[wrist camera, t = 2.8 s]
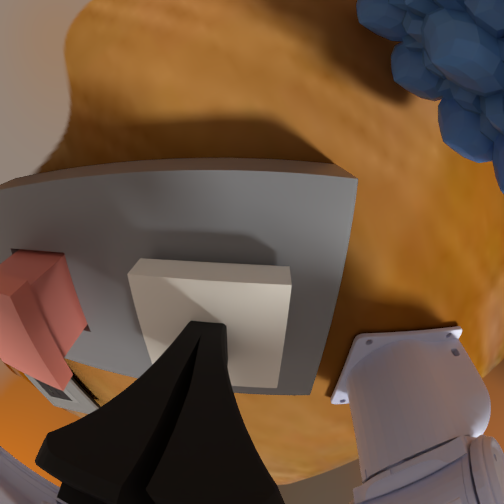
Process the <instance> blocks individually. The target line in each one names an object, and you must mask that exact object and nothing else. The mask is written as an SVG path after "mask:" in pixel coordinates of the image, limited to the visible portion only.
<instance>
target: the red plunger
mask: <svg viewBox="0 0 504 504" xmlns="http://www.w3.org/2000/svg"><path fill="white" fill-rule="evenodd" d="M87 324H88V323H87V321H86V318H85V316H84V313H83V311H82V308H81V305H80V302H79V300H78V297H77V294H76V291H75V288H74V285H73V282H72V278H71V275H70V272H69V269H68V265H67V262H66V258H65V254H64V253H63V252H50V251H38V250H25V249H19V250H18V251H17V252H15V253H14V254H13V255H11V256H10V257H9V258H7V259H6V260H5V261H3V262H2V263H1V264H0V358H1V360H2V361H3V362H5V363H7V364H9V365H10V366H12V367H14V368H16V369H18V370H19V371H21V372H23V373H25V374H27V375H29V376H31V377H33V378H35V379H37V380H39V381H41V382H43V383H46V384H48V385H50V386H52V387H55V388H57V389H59V390H62V391H64V389H65V387H66V386H67V384H68V382H69V380H70V379H71V377H72V375H73V373H72V372H71V370H70V368H69V367H68V365H67V363H66V361H65V360H64V357H65V356H66V354H67V353H68V351H69V350H70V348H71V347H72V345H73V344H74V343H75V341H76V340H77V338H78V337H79V335H80V334H81V333H82V331H83V330H84V328H85V327H86V326H87Z"/></svg>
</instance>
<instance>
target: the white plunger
mask: <svg viewBox="0 0 504 504" xmlns="http://www.w3.org/2000/svg"><path fill="white" fill-rule="evenodd" d="M127 275H128V280H129V284H130V288H131V293H132V297H133V301H134V305H135V308H136V312H137V316H138V320H139V323H140V327H141V330H142V333H143V337H144V340H145V343H146V346H147V350H148V353H149V356H150V359H151V362H152V364H153V363H154V362H155V361H156V360H157V359H158V358H159V357H160V356H161V355H162V354H163V353H164V352H165V350H166V349H167V348H168V347H169V346H170V345H171V344H172V342H173V341H174V340H175V339H176V338H177V336H178V335H179V334H180V333H181V332H182V330H183V329H184V328H185V326H186V325H187V324H188V323H189V322H190V321H201V322H212V323H224V324H225V325H226V326H227V347H228V366H227V367H228V373H229V377H230V381H231V385H232V386H242V387H259V388H277V385H278V379H279V373H280V367H281V360H282V354H283V347H284V340H285V333H286V326H287V318H288V311H289V303H290V295H291V287H292V283H291V275H290V266H271V265H256V264H237V263H218V262H200V261H183V260H161V259H145V258H140V259H139V260H138V262H137V263H136V264H135V265H134V266H133V268H132V269H131V270H130V271H129V273H128V274H127Z"/></svg>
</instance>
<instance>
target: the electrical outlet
mask: <svg viewBox="0 0 504 504" xmlns="http://www.w3.org/2000/svg"><path fill="white" fill-rule="evenodd" d="M24 374H25V373H24ZM25 375H26V376H27V377H28V379H29V380H30V381H31V382H32V383H33V384H34V385H35V386H36V387H37V389H38V390H39V391H40V392H41V393H42V394H43V395H44V396H45V397H46V398H47V399H48V400H49V401H50V402H51V403H52V404H53V405H54V406H57V407H61V408H65V409H69V410H73V411H77V412H82V413H87V414H90V413H92V412H93V411H95V410H97V409H98V408H100V405H99V404H98V403H97V402H96V401H95V400H94V399H93V398H92V397H91V396H90V395H89V394H88V393H87V392H86V391H85V390H84V389H83V388H82V387H81V386H80V385H79V384H78V382H77V381H76V380H75V379H74V378H73V377H71V379H70V380H69V382H68V384H67V386H66V387H65V389H64V391H62V390H59V389H57V388H55V387H52V386H50V385H48V384H46V383H43V382H41V381H39V380H37V379H35V378H33V377H31V376H29V375H27V374H25Z"/></svg>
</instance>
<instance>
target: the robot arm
mask: <svg viewBox="0 0 504 504" xmlns="http://www.w3.org/2000/svg"><path fill="white" fill-rule="evenodd" d="M461 333H462V329H461V327H460V326H456V327H448V328H438V329H428V330H417V331H403V332H387V333H363V334H359V335H357V336H356V337H355V339H354V341H353V344H352V346H351V349H350V352H349V355H348V357H347V360H346V362H345V365H344V368H343V370H342V373H341V375H340V378H339V380H338V382H337V385H336V387H335V389H334V392H333V394H332V396H331V403H332V404H345V403H349V404H350V409H351V415H352V420H353V425H354V431H355V437H356V442H357V449H358V455H359V461H360V468H361V475H362V483H363V485H361V486H358V487H356V488H354V489H353V493H354V499H353V500H352V501H351V502H350V503H349V504H504V453H503V451H502V449H501V448H500V445H499V444H498V442H497V441H496V440H495V438H493V437H489V436H485V435H482V434H483V433H484V431H485V429H486V427H487V425H488V422H489V419H490V413H491V411H490V410H491V404H490V397H489V393H488V391H487V388H486V386H485V384H484V382H483V380H482V379H481V377H480V375H479V373H478V371H477V370H476V368H475V366H474V364H473V363H472V361H471V359H470V357H469V356H468V354H467V352H466V351H465V349H464V347H463V346H462V344H461V343H460V341H459V337H460V335H461ZM368 340H369V341H368ZM227 366H228V347H227V326H226V325H225V324H224V323H212V322H201V321H190V322H189V323H188V324H187V325H186V326H185V328H184V329H183V330H182V332H181V333H180V334H179V335H178V336H177V338H176V339H175V340H174V341H173V342H172V344H171V345H170V346H169V347H168V348H167V349H166V350H165V352H164V353H163V354H162V355H161V356H160V357H159V358H158V359H157V360H156V361H155V362H154V363H153V364H152V365H151V366H150V367H149V368H148V369H147V370H146V371H145V372H144V373H143V374H142V375H141V376H140V377H139V378H138V379H137V380H136V381H135V382H134V383H132V384H131V385H130V386H129V387H128V388H126V389H125V390H124V391H123V392H121V393H120V394H119V395H117V396H116V397H115V398H113V399H112V400H110V401H109V402H108V403H106V404H105V405H103V406H102V407H100V408H98V409H97V410H95V411H93V412H92V413H90V414H88V415H86V416H85V417H83V418H81V419H79V420H77V421H75V422H73V423H71V424H69V425H67V426H64V427H62V428H59V429H57V430H55V431H52V432H49V433H48V434H47V436H46V438H45V440H44V441H43V444H42V446H41V448H40V450H39V452H38V455H37V457H36V459H35V463H36V465H38V466H39V467H40V468H42V469H43V470H45V471H46V472H47V473H49V474H50V475H52V476H54V477H55V478H57V479H58V480H60V481H61V482H62V484H61V487H58V486H56V485H54V484H53V483H51V482H49V481H48V480H46V479H45V478H43V477H41V476H40V475H38V474H37V473H35V472H34V471H32V470H31V469H29V468H28V467H26V466H25V465H24V464H22V463H21V462H19V461H18V460H17V459H15V458H14V457H13V456H12V455H11V454H9V453H8V452H7V451H6V450H4V449H3V448H2V447H1V446H0V504H285V503H284V501H283V498H282V496H281V494H280V491H279V489H278V487H277V485H276V483H275V482H274V480H273V479H272V477H271V475H270V474H269V472H268V470H267V469H266V467H265V465H264V464H263V462H262V460H261V458H260V456H259V454H258V452H257V451H256V449H255V446H254V444H253V442H252V440H251V438H250V436H249V434H248V431H247V429H246V427H245V424H244V422H243V419H242V417H241V414H240V411H239V408H238V406H237V403H236V399H235V396H234V393H233V389H232V385H231V381H230V377H229V373H228V367H227Z"/></svg>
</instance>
